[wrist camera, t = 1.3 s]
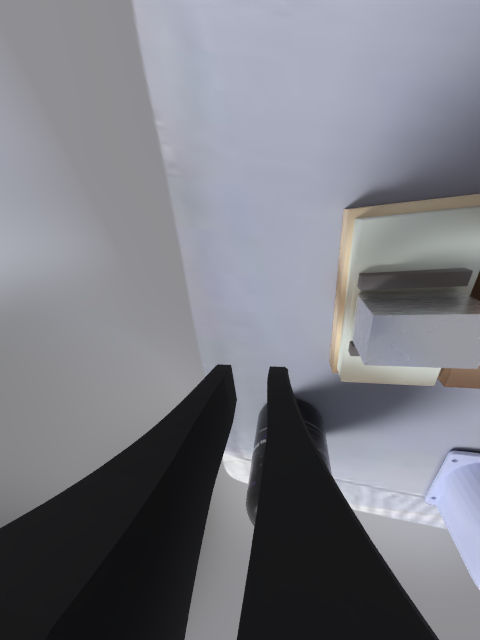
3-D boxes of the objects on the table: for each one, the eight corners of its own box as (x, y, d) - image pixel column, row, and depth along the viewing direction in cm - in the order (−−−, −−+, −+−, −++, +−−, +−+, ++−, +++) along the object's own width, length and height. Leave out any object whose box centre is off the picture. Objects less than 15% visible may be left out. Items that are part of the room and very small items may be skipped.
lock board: (515, 367, 16) (612, 435, 11) (329, 361, 19) (343, 413, 14) (629, 175, 11) (906, 152, 6) (343, 209, 14) (373, 211, 9)
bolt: (442, 338, 13) (477, 369, 10) (351, 337, 14) (364, 365, 12) (459, 290, 12) (504, 313, 9) (357, 294, 13) (373, 315, 10)
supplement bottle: (253, 396, 23) (223, 555, 12) (321, 395, 21) (353, 582, 11) (263, 437, 26) (247, 595, 15) (324, 440, 24) (352, 622, 13)
